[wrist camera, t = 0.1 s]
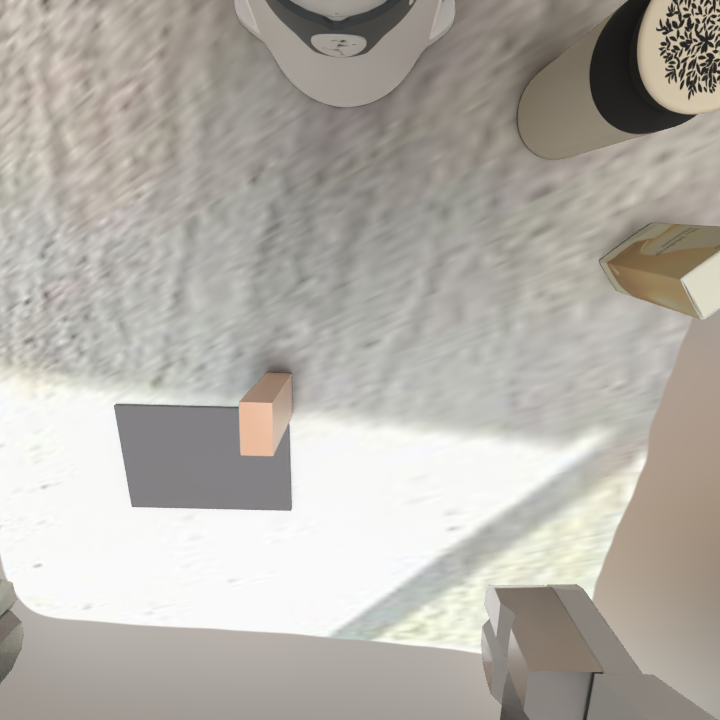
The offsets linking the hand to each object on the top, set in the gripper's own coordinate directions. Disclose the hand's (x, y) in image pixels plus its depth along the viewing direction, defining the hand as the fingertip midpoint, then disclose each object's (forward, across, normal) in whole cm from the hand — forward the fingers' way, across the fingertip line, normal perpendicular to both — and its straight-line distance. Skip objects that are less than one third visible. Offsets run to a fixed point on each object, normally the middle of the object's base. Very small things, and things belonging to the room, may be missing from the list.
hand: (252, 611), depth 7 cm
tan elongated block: (+40, +7, +9) cm, 41 cm away
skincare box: (+39, -30, -7) cm, 49 cm away
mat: (+41, +16, +18) cm, 47 cm away
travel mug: (+37, -20, -20) cm, 47 cm away
